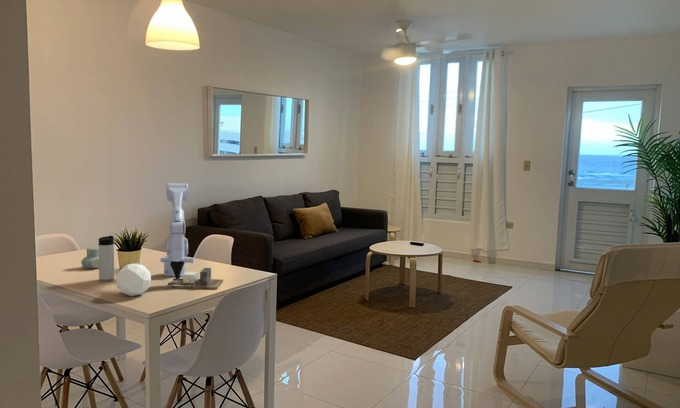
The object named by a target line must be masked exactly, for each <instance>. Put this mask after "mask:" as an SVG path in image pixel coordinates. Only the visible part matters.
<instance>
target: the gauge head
mask: <svg viewBox="0 0 680 408" xmlns="http://www.w3.org/2000/svg"><path fill="white" fill-rule="evenodd" d="M185 272H186V273H184V274H183V276H182V279H183V283H196V282H197V281H198V279H199V272H198V271H188V270H187V271H185Z"/></svg>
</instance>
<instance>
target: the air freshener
mask: <svg viewBox="0 0 680 408" xmlns="http://www.w3.org/2000/svg"><path fill="white" fill-rule="evenodd" d="M80 262H81V263H80V264H81V265H82V267H83V268H86V269H88V270H89V269H90V270H97V269H98V270H99V246H91V247H87V248H86V256H85V257H83V258H82V259H81V261H80Z"/></svg>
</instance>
